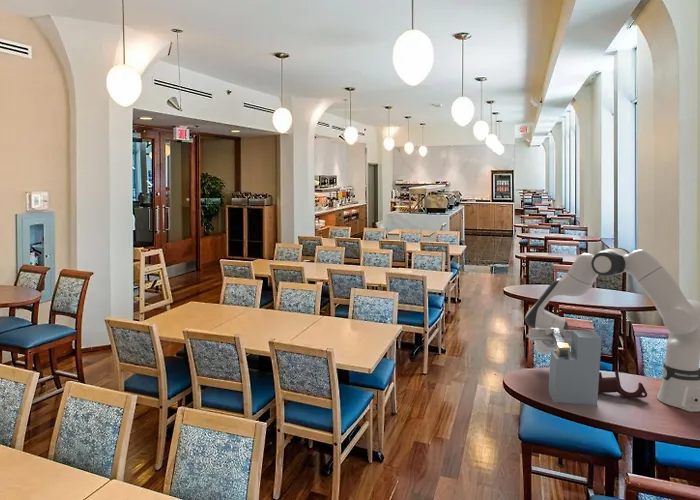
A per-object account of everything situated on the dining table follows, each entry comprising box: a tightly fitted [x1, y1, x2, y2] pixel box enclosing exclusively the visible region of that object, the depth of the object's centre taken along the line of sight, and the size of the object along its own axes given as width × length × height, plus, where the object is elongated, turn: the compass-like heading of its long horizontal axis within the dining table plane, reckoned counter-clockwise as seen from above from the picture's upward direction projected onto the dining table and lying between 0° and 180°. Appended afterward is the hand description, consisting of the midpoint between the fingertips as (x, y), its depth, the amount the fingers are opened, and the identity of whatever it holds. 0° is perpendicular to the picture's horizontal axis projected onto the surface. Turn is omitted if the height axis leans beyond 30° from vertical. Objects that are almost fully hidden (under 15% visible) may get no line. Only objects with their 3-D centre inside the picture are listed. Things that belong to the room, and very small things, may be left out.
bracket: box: [598, 369, 648, 399], centre depth 202 cm, size 6×18×11 cm, turn 67°
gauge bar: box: [551, 328, 571, 357], centre depth 206 cm, size 4×20×4 cm, turn 169°
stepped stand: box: [548, 329, 602, 406], centre depth 198 cm, size 16×10×26 cm, turn 80°
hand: (557, 330), depth 209 cm, fingers closed on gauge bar, 3 cm apart
